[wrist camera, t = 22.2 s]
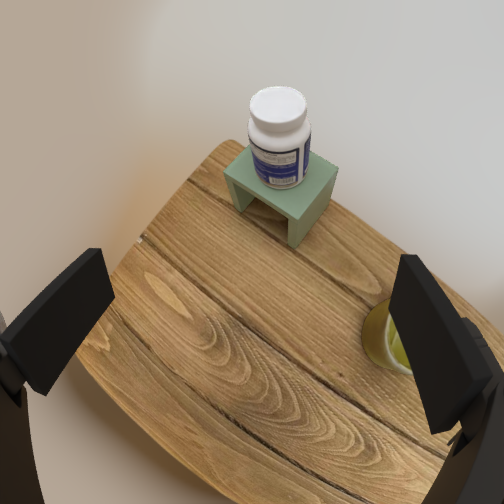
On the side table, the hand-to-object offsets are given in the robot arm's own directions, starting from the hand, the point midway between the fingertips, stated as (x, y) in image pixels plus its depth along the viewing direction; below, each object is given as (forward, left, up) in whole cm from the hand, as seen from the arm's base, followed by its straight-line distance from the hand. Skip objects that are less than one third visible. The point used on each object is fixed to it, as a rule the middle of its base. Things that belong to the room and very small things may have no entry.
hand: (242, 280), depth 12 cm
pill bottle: (-3, +15, -15) cm, 22 cm away
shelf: (-3, +15, -24) cm, 29 cm away
